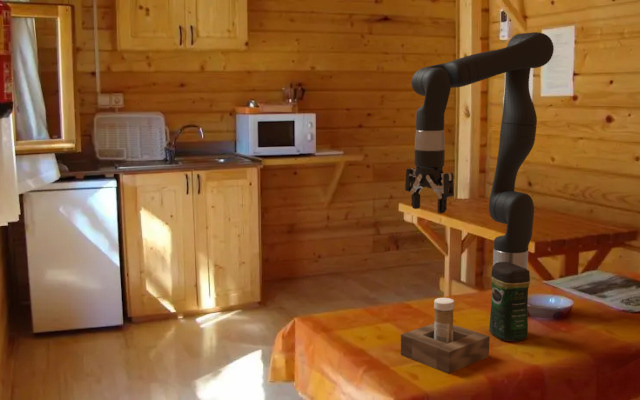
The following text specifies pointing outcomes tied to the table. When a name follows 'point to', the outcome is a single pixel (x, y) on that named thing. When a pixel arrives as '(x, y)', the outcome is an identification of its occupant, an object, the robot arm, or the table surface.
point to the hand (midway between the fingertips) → (428, 210)
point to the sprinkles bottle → (443, 320)
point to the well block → (445, 348)
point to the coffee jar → (509, 301)
